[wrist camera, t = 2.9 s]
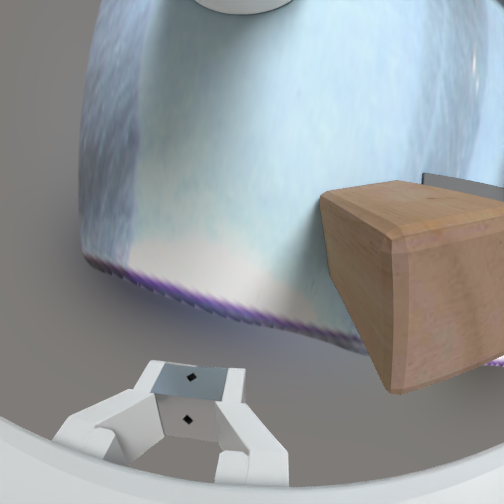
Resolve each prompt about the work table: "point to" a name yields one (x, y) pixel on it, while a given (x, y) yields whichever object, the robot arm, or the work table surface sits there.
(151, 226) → the work table surface
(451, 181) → the mat
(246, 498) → the robot arm
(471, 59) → the work table surface
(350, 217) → the wooden block
